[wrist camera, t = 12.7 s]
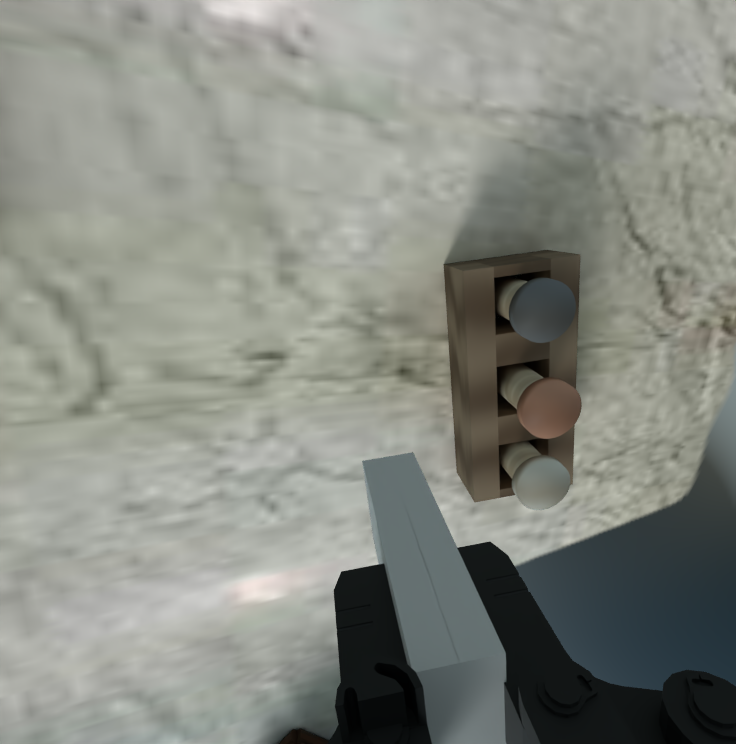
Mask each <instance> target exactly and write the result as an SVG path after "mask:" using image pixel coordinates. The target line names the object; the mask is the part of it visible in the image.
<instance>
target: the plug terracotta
mask: <svg viewBox="0 0 736 744" xmlns="http://www.w3.org/2000/svg"><path fill="white" fill-rule="evenodd" d="M497 392H498V393H499V394H500V395H502V396H503V397H504V398H505V399H506V400H507V401H508V402H509V403H510V404H511V405H513V406H514V407H515V408H516V409H517V416H518V419H519V421H520V423H521V424H522V425H523V426H524V427H525V428H526V429H527V430H528V431H529V432H530V433H531V434H532V435H534V436H536V437H539V438H543V439H550V438H555V437H558V436H560V435H562V434H564V433H566V432H567V431H568V430H570V429H571V428H572V427H573V425H574V424H575V423H576V421H577V419H578V417H579V415H580V412H581V398H580V395H579V393H578V392H577V390H576V389H575V388H574V387H572V386H571V385H569V384H568V383H566V382H565V381H563V380H561V379H558V378H554V377H547V378H543V377H542V376H541V375H539V374H538V373H536V372H535V371H533V370H532V369H530V368H529V367H527V366H526V365H524V364H523V363H518V364H511V365H505V366H499V367H497Z"/></svg>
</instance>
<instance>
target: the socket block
mask: <svg viewBox="0 0 736 744" xmlns="http://www.w3.org/2000/svg"><path fill="white" fill-rule="evenodd" d="M444 274H445V290H446V306H447V322H448V338H449V354H450V370H451V386H452V402H453V418H454V434H455V450H456V466H457V473H458V475H459V477H460V478H461V480H462V482H463V484H464V485H465V487H466V489H467V490H468V492H469V494H470V495H471V497H472V499H473V500H474V502H479V501H485V500H490V499H495V498H501V497H506V496H512V495H515V494H514V492H513V489H512V478H511V477H510V476H509V474H508V473H507V472H506V471H505V469H504V468H503V467H502V466H501V464H500V463H499V445H503V444H509V443H514V442H520V441H526V440H527V441H528V442H529V443H530V444H531V445H532V446H533V447H534V448H535V449H536V450H537V451H538V452H539V453H540V454H541V455H548V456H551V457H554V458H555V459H557V460H558V461H559V462H560V463H561V464H562V465H563V466H564V467H565V468H566V469H567V470H568V472H569V475H570V485H571V484H572V483H573V454H574V425H573V427H572V428H571V429H570V430H568V431H567V432H566V433H564V434H562V435H560V436H558V437H555V438H550V439H543V438H539V437H536V436H534V435H532V434H531V433H530V432H529V431H528V430H527V429H526V428H525V427H524V426H523V425H522V424H521V423H520V421H519V419H518V416H517V409H516V408H515V407H514V406H513V405H511V404H510V403H509V402H508V401H507V400H506V399H505V398H504V397H503V396H502V395H500V394H499V393H498V392H497V367H499V366H505V365H511V364H518V363H523V364H524V365H526V366H527V367H529V368H530V369H532V370H533V371H535V372H536V373H538V374H539V375H541V376H542V377H543V378H547V377H554V378H558V379H561V380H563V381H565V382H566V383H568V384H569V385H571V386H572V387H574V388H575V389H576V366H577V337H578V307H579V278H580V255H579V254H572V253H565V252H557V251H550V250H544V251H537V252H530V253H522V254H515V255H508V256H501V257H493V258H486V259H479V260H472V261H465V262H457V263H450V264H444ZM517 274H521V280H524V281H530V280H533V279H536V278H549V279H554V280H557V281H560V282H562V283H564V284H565V285H567V286H568V287H569V288H570V290H571V291H572V293H573V295H574V298H575V302H576V310H575V316H574V318H573V321H572V323H571V325H570V326H569V328H568V329H567V330H566V331H565V332H564V333H563V334H562V335H561V336H560V337H558V338H557V339H555V340H552V341H550V342H545V343H536V342H532V341H530V340H528V339H526V338H524V337H522V336H520V335H519V334H518V333H517V332H516V331H515V330H514V329H513V327H512V326H511V323H510V320H508V319H506V318H504V317H498V318H495V293H494V278H496V277H503V276H510V275H517Z"/></svg>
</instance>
